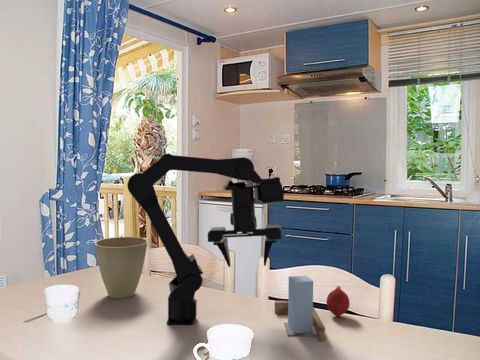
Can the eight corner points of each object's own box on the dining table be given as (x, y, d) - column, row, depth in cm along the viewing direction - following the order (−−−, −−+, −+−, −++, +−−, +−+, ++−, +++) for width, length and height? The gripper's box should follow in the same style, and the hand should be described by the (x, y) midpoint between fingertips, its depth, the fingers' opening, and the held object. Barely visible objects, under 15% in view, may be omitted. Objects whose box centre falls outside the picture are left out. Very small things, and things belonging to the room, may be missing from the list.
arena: (282, 340, 90) (283, 327, 90) (274, 312, 107) (274, 300, 107) (324, 340, 90) (325, 327, 90) (309, 311, 107) (310, 300, 107)
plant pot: (84, 297, 117) (83, 242, 117) (123, 284, 130) (123, 235, 129) (119, 307, 109) (119, 249, 109) (158, 292, 122) (157, 240, 121)
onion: (349, 322, 101) (350, 290, 100) (326, 320, 102) (326, 288, 101) (348, 313, 106) (349, 283, 106) (326, 311, 108) (326, 282, 107)
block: (293, 333, 93) (294, 282, 93) (288, 325, 97) (288, 276, 97) (312, 331, 94) (313, 281, 93) (305, 324, 98) (306, 275, 98)
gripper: (280, 200, 110) (283, 256, 111) (212, 204, 112) (216, 259, 113) (279, 205, 99) (283, 268, 100) (205, 209, 101) (209, 270, 102)
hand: (247, 265), depth 104 cm, fingers open, 9 cm apart
